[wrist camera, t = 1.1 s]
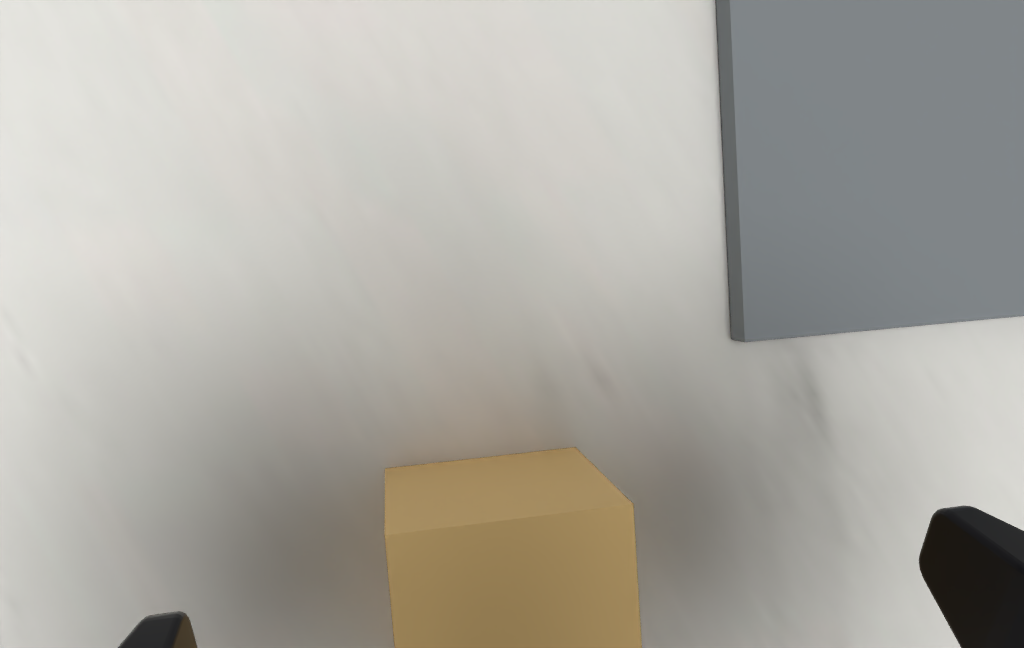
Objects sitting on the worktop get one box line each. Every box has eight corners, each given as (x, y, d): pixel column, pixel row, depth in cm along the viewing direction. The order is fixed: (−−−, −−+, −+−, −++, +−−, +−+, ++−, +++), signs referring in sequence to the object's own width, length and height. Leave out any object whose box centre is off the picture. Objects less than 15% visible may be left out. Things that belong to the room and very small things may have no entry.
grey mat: (1115, 303, 23) (1141, 304, 22) (731, 339, 21) (745, 342, 20) (1115, -124, 22) (1143, -139, 21) (710, -126, 20) (723, -141, 19)
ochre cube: (586, 626, 21) (647, 737, 16) (401, 653, 20) (405, 778, 15) (574, 446, 21) (633, 504, 16) (384, 467, 20) (384, 535, 15)
